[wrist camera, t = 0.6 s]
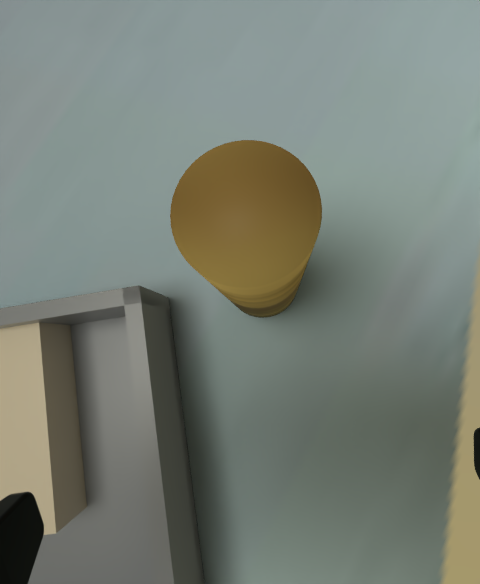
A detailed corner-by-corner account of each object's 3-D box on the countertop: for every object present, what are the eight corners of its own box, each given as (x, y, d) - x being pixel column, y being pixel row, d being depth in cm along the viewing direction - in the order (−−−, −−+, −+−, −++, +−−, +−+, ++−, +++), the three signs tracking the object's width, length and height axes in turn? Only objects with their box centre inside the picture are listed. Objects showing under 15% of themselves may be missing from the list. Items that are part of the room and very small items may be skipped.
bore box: (206, 596, 21) (184, 674, 16) (-77, 627, 22) (-178, 708, 17) (168, 297, 23) (139, 285, 18) (-88, 339, 24) (-180, 338, 20)
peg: (303, 311, 23) (334, 273, 10) (232, 322, 23) (180, 298, 10) (291, 242, 23) (307, 127, 11) (222, 254, 23) (161, 155, 11)
